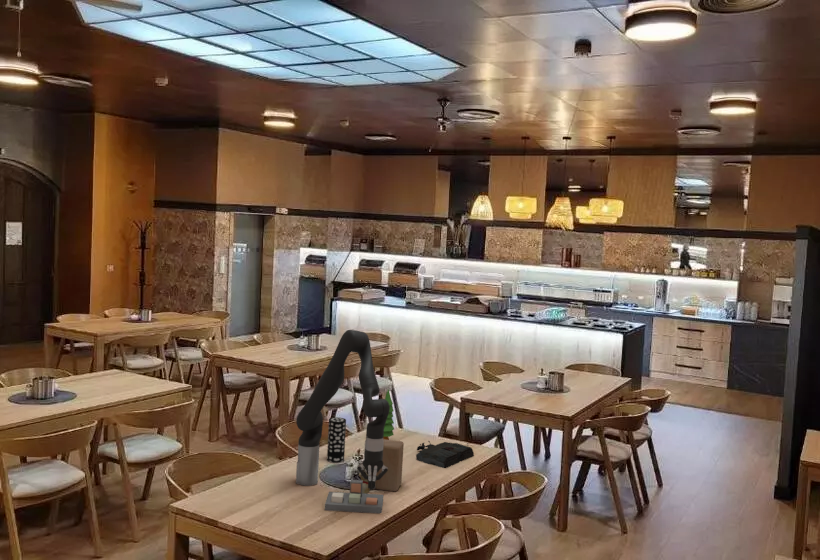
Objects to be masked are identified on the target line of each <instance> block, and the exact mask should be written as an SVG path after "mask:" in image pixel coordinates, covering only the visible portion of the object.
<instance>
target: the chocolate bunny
mask: <svg viewBox="0 0 820 560" xmlns="http://www.w3.org/2000/svg"><path fill="white" fill-rule="evenodd" d="M366 474H367V475H368V472H366ZM358 476H359V477H360V480H363V486H362V493H363V494H370V488H368V480H367V479H364V477H363V476H362V475H361V473H360V472H359V473H358Z"/></svg>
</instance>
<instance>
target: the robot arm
mask: <svg viewBox="0 0 820 560" xmlns="http://www.w3.org/2000/svg"><path fill="white" fill-rule="evenodd" d="M371 347H372V346H371V342H370V338H369V335H368V334H367V333H366V332H364V331H360V330H355V329H348V330H346V331H345V332H344V333H343V334H342V335H341V337H340V339H339V342H338V344H337V346H336V348H335V351H334V352H333V355H332V357H331V359H330V360H329V362H328V365H327V366H326V368H325V370H324V371H323V373H322V375H321V376H320V378H319V380H318V382H317V383H316V385H315V387H314V389H313V391H312V392H311V395H310V396H309V398H308V400H307V401H306V403H305V404H304V405H303V406H302V408H301V410H300V411H299V412H298V413H297V416H296V421H295V422H296V426H297V428H298V430H300V431H301V432H302V433H301V434H300V436H299V438H298V447H297V450H298V451H297V462H296V469H295V470H296V473H295V484H296V485H301V486H307V487H308V486H314V485H317V484H318V481H319V464H320V463H319V461H320V460H319V459H320V442H321V438H322V437H323V434H322V433H323V425H324V424H323V423H324V418H323V417H324V416H323V412H322V410H323V408H324V407H325V406H326V405H327V404H328V402H330V400H331V399H332V398H334V396H335V395H336V394H337V392H338V391H339V390H340V388H341V386H342V384H343V382H344V380H345V363H346V360H347V358H348V356H349V355H350V354H351V353H357V354H358V357H359V360H360V368H359V372H358V381H359V385H360V389H361V391H362V399H363V400H362V401H363V405H362V409H363V413H364V415H365V416H366V417H367V418H375V419H374V420H372V421H369V422H368V423H367V425H366V433H365V441H364V455H363V456H364V457H363V461H362V463H361V464H358V465H357V467H356V468H357V470H358V472H359V473H361V475H362V476H363V477H364V479H367V480H368V488H370V489H369V490H371V491H374V489H376V487H375V483H376V480H380V479H381V478H382V476H383V475H384V474H385V473H386V472H387V471H388V467H385V466H384V465H383V464H384V463H383V447H384V441H383V435H384V426H385V423H386V420H387V417H388V414H389V410H390V407H389V403H388V401H387V400H385V398H377V399H376V398H374V399H373V397H376V396H377V395H379V393H380V389H381V388H380V385H379V382H378V379H377V376H376V373H375V370H374V369H375V368H374V363H373V355H372V348H371ZM381 468H382V472H381V473H380V474H379V475H378V476H376V473H377V472H378V471H379V470H380V469H381ZM364 469H365V470H364ZM366 473H367V474H368V475H367V474H366Z"/></svg>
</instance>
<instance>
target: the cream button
mask: <svg viewBox="0 0 820 560" xmlns="http://www.w3.org/2000/svg"><path fill="white" fill-rule="evenodd" d="M332 492H333V494H332V500H331V502H336V503H343V495H344V493H334V492H335V491H332Z"/></svg>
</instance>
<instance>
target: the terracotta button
mask: <svg viewBox="0 0 820 560" xmlns="http://www.w3.org/2000/svg"><path fill="white" fill-rule="evenodd" d="M366 504H371V505H377V498H368V497H367V499H366Z"/></svg>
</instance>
